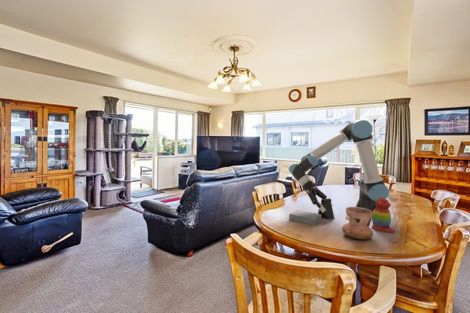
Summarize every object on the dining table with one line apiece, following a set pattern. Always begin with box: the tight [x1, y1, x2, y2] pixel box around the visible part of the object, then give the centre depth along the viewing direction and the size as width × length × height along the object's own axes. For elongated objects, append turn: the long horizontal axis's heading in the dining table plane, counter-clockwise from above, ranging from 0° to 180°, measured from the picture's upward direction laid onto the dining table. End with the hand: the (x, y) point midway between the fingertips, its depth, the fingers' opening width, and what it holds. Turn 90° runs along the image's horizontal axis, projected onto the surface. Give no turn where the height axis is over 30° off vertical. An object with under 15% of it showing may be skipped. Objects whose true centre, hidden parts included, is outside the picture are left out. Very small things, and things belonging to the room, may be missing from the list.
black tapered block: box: [317, 197, 335, 220], centre depth 164 cm, size 9×6×12 cm, turn 25°
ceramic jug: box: [341, 206, 374, 240], centre depth 132 cm, size 18×14×14 cm
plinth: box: [288, 209, 322, 226], centre depth 159 cm, size 16×12×4 cm
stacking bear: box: [371, 197, 395, 234], centre depth 143 cm, size 11×10×18 cm
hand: (327, 209), depth 164 cm, fingers open, 13 cm apart
